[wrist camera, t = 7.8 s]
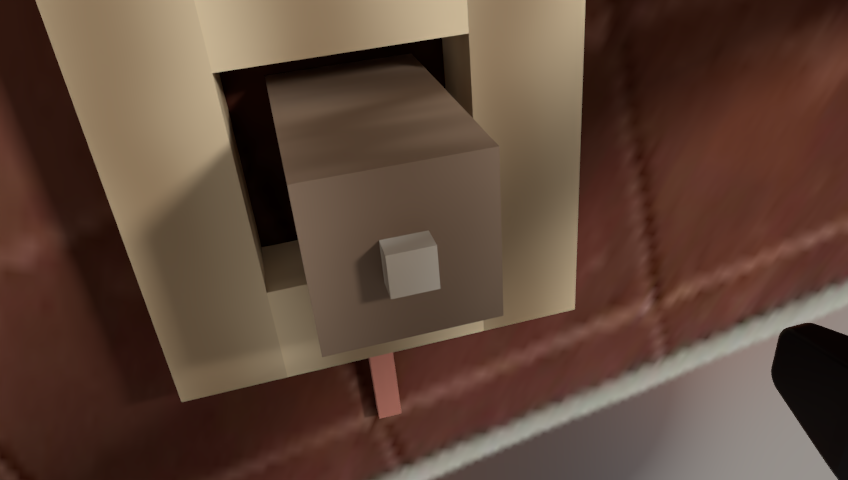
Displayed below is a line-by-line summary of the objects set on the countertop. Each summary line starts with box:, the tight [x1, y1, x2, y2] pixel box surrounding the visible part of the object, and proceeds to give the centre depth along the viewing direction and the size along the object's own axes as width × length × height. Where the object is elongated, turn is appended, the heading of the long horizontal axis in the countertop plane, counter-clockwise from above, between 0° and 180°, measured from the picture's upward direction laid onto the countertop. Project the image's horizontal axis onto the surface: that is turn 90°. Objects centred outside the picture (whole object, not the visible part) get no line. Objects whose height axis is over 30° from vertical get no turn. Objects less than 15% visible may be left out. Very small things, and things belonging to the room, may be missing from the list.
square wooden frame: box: [36, 0, 586, 402], centre depth 18 cm, size 12×12×2 cm
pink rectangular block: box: [369, 352, 401, 419], centre depth 23 cm, size 1×4×1 cm, turn 5°
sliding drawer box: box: [265, 53, 504, 357], centre depth 16 cm, size 4×4×8 cm
